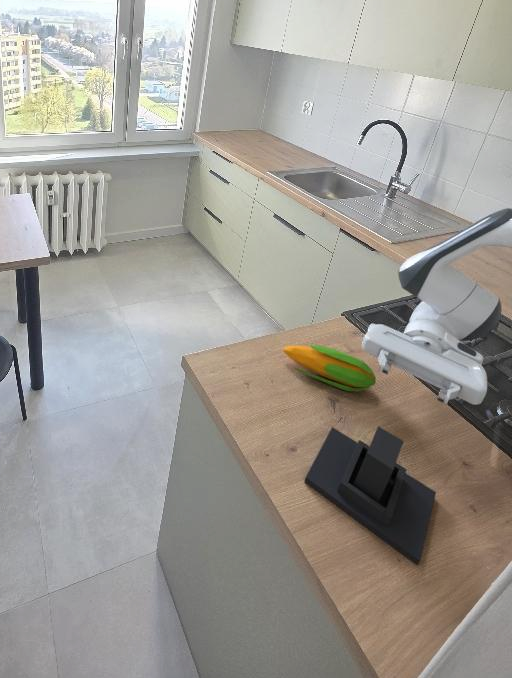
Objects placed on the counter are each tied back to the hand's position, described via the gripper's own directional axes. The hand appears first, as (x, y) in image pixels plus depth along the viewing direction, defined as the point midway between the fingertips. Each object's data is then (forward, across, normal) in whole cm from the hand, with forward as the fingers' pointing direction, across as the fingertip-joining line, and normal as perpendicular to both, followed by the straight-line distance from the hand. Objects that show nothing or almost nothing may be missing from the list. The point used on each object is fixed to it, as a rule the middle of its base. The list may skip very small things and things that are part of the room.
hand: (412, 384), depth 77 cm
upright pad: (+12, 0, +15) cm, 19 cm away
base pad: (+12, 0, +17) cm, 21 cm away
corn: (-8, -16, +17) cm, 24 cm away
